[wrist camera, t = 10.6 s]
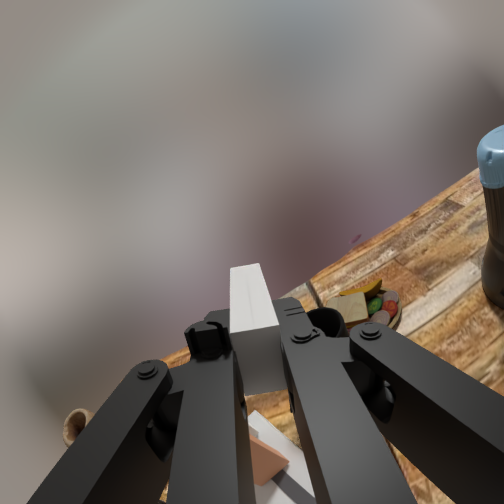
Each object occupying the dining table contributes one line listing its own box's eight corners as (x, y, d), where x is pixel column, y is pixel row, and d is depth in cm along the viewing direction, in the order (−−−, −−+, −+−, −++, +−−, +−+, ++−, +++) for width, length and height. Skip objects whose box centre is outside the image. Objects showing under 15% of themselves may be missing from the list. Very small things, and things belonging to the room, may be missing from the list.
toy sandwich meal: (405, 337, 36) (400, 318, 34) (326, 353, 43) (316, 337, 41) (398, 283, 45) (392, 264, 44) (333, 301, 52) (324, 284, 51)
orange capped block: (293, 461, 26) (231, 424, 21) (261, 489, 24) (189, 460, 19) (278, 448, 29) (216, 407, 24) (248, 474, 27) (178, 440, 22)
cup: (371, 390, 32) (347, 343, 27) (321, 405, 35) (284, 363, 30) (364, 349, 38) (338, 298, 34) (319, 365, 41) (286, 318, 37)
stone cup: (137, 481, 35) (73, 446, 29) (104, 480, 36) (48, 447, 31) (147, 424, 48) (95, 385, 43) (116, 431, 50) (68, 396, 45)
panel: (390, 511, 16) (386, 511, 14) (312, 575, 12) (298, 580, 10) (263, 416, 38) (249, 405, 37) (211, 462, 34) (195, 454, 32)
